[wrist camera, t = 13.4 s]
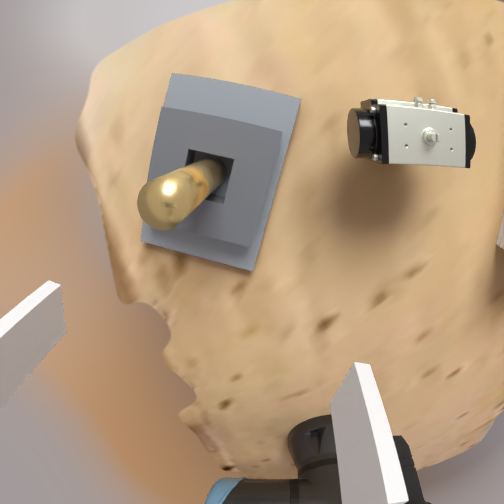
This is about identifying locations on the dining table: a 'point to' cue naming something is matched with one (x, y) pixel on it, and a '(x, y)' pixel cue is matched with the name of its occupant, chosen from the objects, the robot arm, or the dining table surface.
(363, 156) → the pneumatic valve
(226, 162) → the grey socket base
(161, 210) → the brass pin
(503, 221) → the stack of papers
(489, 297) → the dining table surface
